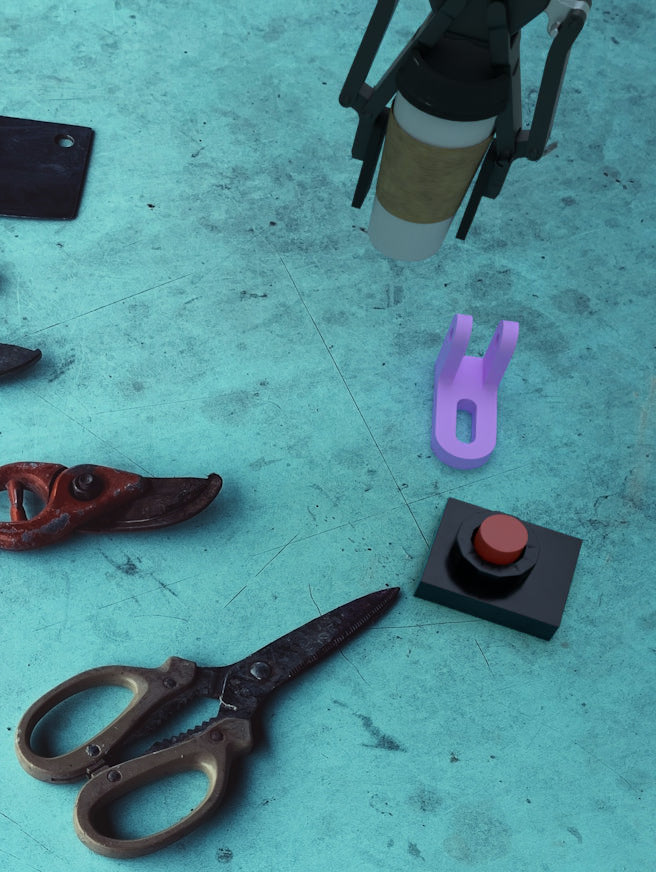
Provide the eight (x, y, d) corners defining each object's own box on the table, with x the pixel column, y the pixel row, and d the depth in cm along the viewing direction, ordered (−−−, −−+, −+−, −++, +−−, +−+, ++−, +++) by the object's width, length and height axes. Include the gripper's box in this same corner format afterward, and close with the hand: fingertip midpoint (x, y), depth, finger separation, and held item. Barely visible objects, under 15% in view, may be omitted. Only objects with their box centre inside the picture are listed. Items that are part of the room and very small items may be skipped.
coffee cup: (460, 209, 96) (531, 17, 83) (455, 281, 92) (528, 92, 79) (356, 193, 97) (409, -1, 83) (346, 264, 93) (401, 74, 79)
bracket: (434, 363, 116) (458, 304, 110) (492, 371, 116) (519, 313, 109) (429, 464, 110) (453, 409, 104) (490, 473, 110) (518, 418, 104)
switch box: (573, 555, 106) (592, 525, 102) (549, 642, 102) (568, 614, 98) (441, 512, 108) (455, 482, 104) (412, 596, 104) (426, 567, 100)
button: (525, 536, 102) (532, 523, 101) (514, 571, 101) (522, 558, 99) (479, 521, 103) (486, 508, 101) (468, 556, 101) (475, 542, 100)
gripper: (702, -112, 72) (553, 221, 92) (375, -191, 75) (301, 147, 96) (679, -46, 69) (530, 283, 89) (339, -132, 72) (271, 204, 93)
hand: (412, 212), depth 92 cm, fingers closed on coffee cup, 8 cm apart
